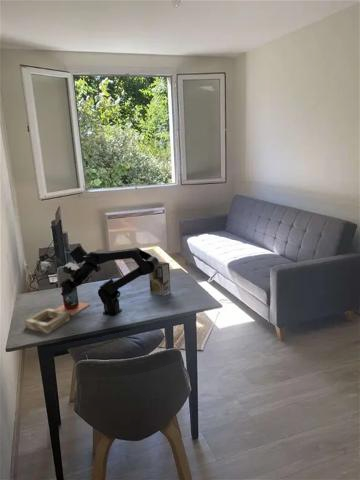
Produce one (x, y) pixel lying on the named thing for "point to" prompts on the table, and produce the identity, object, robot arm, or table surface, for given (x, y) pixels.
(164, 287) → the coffee box
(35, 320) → the holder
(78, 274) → the robot arm
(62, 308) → the mat
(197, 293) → the table surface
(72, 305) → the beverage can
